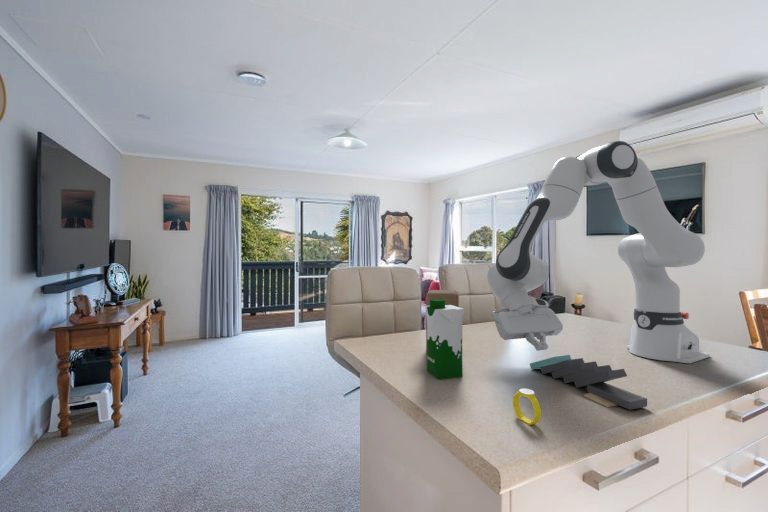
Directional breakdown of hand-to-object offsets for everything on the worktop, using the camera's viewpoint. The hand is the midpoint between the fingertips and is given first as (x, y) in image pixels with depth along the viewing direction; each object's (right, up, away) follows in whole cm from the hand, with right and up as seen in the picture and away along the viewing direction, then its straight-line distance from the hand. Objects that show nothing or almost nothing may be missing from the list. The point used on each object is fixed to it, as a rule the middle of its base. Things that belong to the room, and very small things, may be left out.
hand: (542, 349), depth 98 cm
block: (-25, -6, +17) cm, 31 cm away
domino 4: (+3, -5, -9) cm, 11 cm away
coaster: (+6, -6, -19) cm, 21 cm away
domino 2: (+1, -5, -2) cm, 6 cm away
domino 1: (-1, -5, +2) cm, 6 cm away
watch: (-16, -6, -30) cm, 34 cm away
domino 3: (+2, -5, -5) cm, 8 cm away
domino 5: (+4, -5, -12) cm, 14 cm away
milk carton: (-28, -6, -3) cm, 28 cm away
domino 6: (+5, -5, -16) cm, 17 cm away
